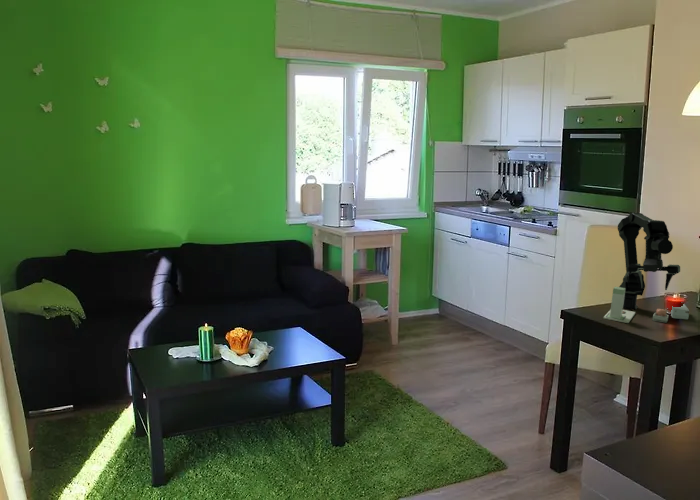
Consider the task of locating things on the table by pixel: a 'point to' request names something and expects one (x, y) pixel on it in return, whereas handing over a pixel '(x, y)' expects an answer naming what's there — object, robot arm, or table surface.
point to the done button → (661, 312)
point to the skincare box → (680, 312)
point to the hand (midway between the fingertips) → (653, 289)
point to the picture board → (625, 317)
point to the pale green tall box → (617, 302)
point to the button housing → (660, 318)
